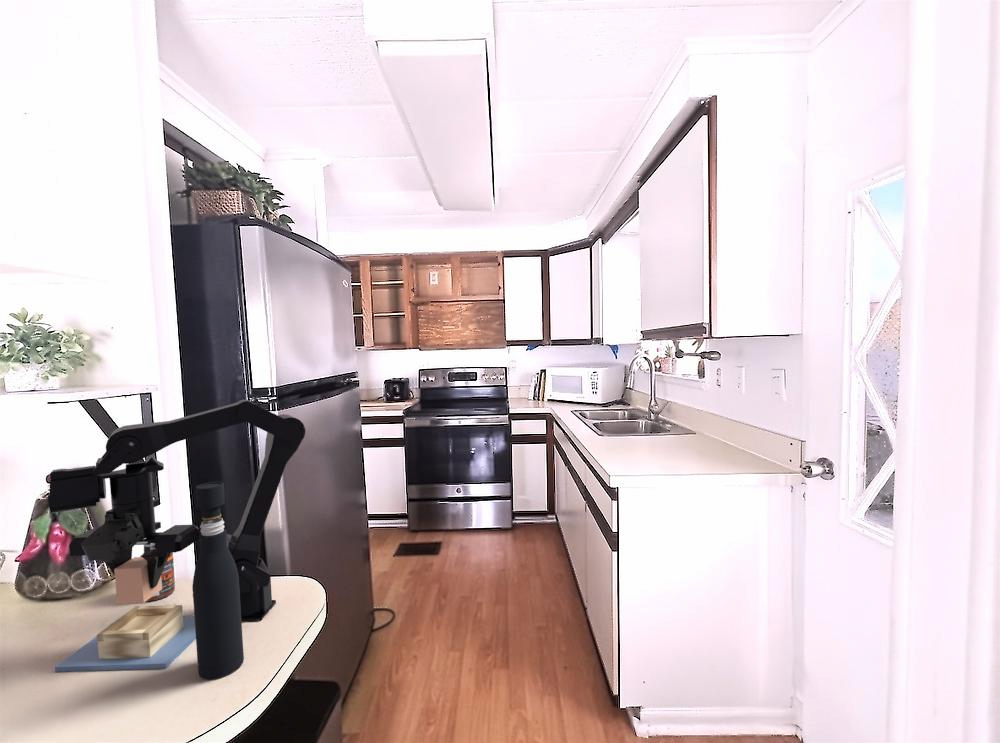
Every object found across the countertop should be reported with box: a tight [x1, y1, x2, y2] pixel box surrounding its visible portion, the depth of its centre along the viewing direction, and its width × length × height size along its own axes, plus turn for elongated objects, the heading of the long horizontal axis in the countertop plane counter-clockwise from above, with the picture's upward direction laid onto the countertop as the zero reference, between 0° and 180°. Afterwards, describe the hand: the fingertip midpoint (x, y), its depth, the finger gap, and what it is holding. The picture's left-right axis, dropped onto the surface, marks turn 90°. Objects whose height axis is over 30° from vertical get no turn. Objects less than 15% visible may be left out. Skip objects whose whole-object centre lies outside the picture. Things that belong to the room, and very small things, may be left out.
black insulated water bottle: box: [191, 481, 245, 681], centre depth 77 cm, size 6×6×30 cm
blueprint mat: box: [54, 615, 196, 673], centre depth 85 cm, size 18×14×1 cm
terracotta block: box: [114, 556, 162, 605], centre depth 84 cm, size 4×4×6 cm
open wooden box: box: [96, 604, 184, 659], centre depth 84 cm, size 8×8×5 cm
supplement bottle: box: [139, 544, 176, 602], centre depth 102 cm, size 6×6×11 cm
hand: (139, 587), depth 84 cm, fingers closed on terracotta block, 4 cm apart
